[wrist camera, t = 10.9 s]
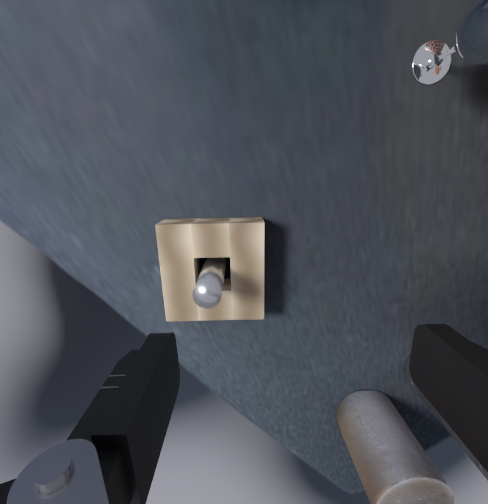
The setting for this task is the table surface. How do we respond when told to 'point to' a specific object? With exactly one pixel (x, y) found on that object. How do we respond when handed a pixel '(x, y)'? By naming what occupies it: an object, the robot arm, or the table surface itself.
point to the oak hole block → (212, 246)
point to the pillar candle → (388, 453)
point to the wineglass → (467, 44)
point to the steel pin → (210, 283)
